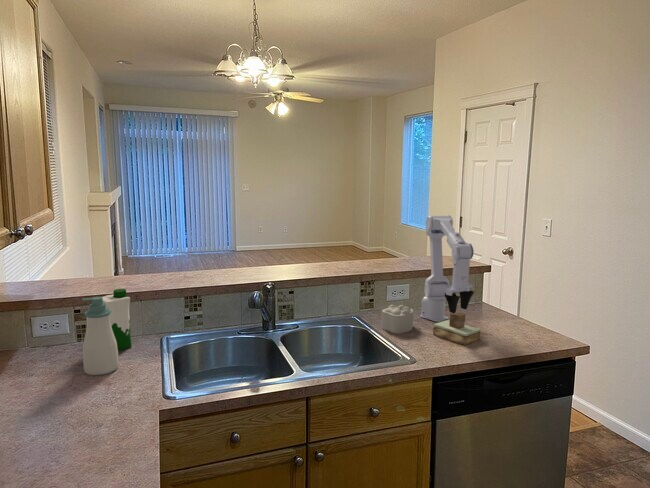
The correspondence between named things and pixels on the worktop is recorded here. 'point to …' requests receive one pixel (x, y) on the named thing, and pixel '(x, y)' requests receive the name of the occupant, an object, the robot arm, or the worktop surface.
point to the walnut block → (457, 320)
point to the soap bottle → (99, 340)
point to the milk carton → (119, 317)
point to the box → (456, 336)
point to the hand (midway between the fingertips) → (458, 310)
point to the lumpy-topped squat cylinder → (397, 319)
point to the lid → (462, 331)
